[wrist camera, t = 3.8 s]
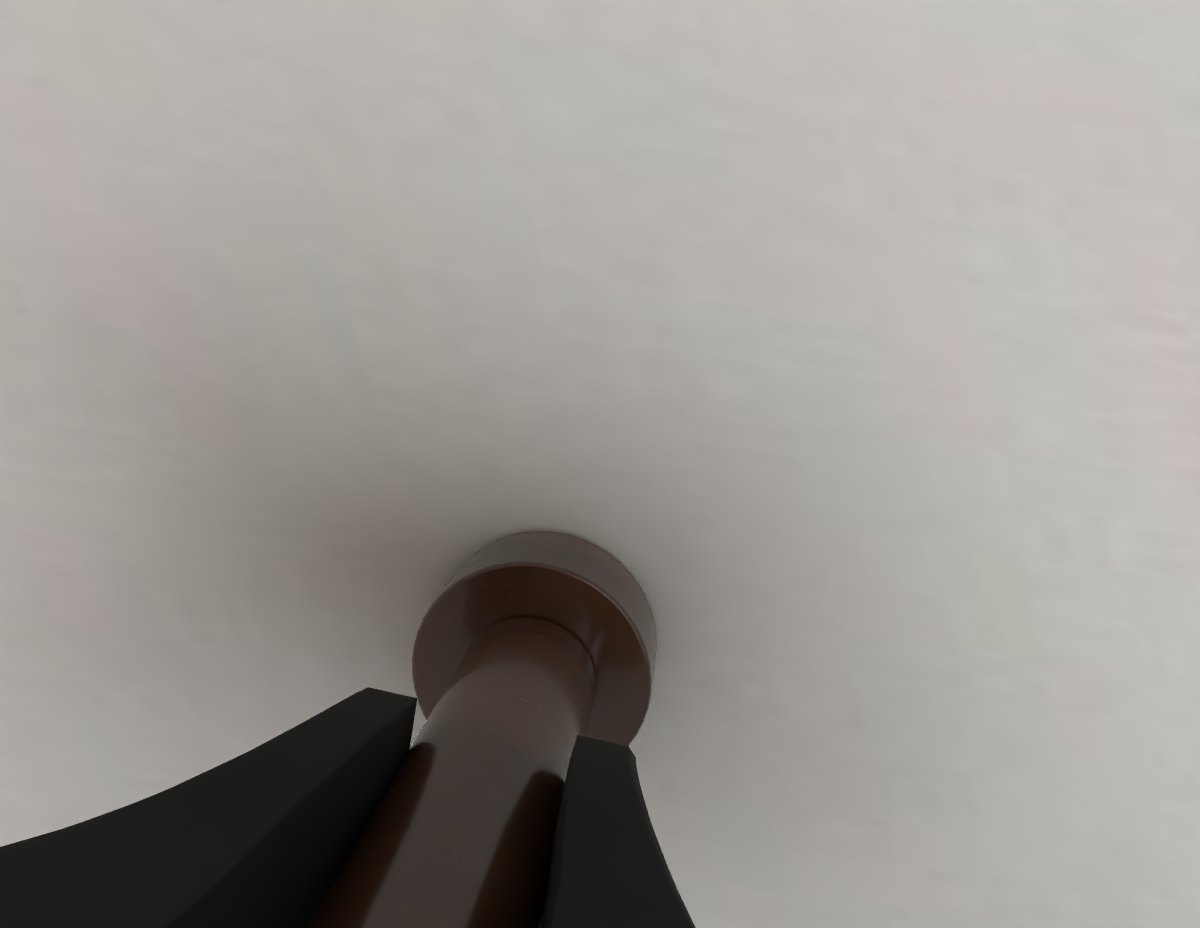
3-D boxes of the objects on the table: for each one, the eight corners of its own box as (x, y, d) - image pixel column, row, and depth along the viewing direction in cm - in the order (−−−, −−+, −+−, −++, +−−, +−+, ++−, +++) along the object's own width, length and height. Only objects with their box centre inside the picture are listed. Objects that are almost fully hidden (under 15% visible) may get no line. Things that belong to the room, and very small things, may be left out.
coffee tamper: (533, 774, 16) (349, 1344, 8) (394, 615, 16) (43, 1041, 7) (702, 658, 15) (696, 1158, 7) (559, 487, 15) (372, 802, 6)
